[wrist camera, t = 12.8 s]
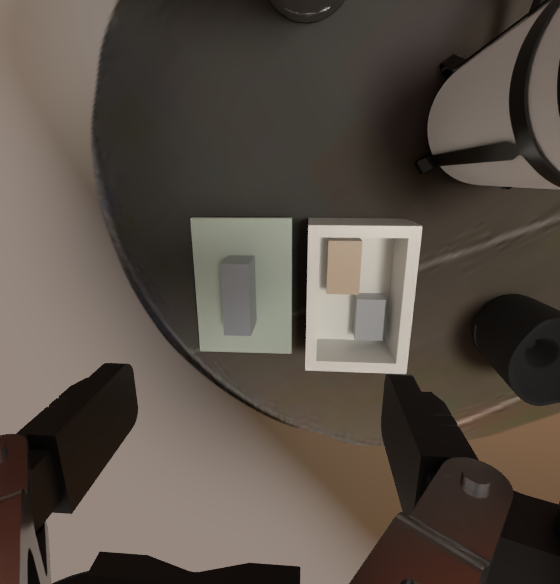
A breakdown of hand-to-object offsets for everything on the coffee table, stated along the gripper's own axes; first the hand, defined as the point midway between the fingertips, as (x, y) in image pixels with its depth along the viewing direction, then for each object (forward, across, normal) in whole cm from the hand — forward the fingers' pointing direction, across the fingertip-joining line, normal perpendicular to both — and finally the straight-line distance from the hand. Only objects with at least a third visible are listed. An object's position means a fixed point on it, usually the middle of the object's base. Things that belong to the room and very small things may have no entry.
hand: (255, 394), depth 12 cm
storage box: (+34, -7, +6) cm, 35 cm away
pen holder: (+34, -26, +11) cm, 45 cm away
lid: (+34, +6, +6) cm, 35 cm away
